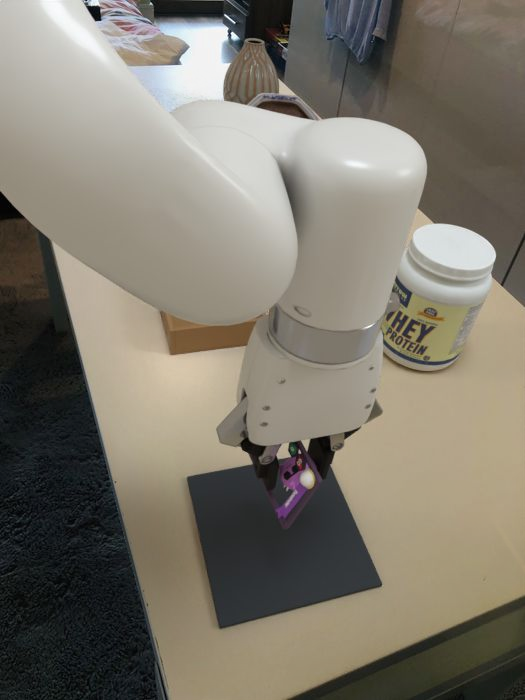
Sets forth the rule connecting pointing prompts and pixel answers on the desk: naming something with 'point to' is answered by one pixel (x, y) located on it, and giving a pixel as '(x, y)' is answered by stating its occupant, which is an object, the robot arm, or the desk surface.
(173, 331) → the box
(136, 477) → the desk surface
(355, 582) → the mat
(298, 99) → the potted plant
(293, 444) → the purple toy figure
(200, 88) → the desk surface
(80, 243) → the robot arm
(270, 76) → the vase
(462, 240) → the supplement tub
